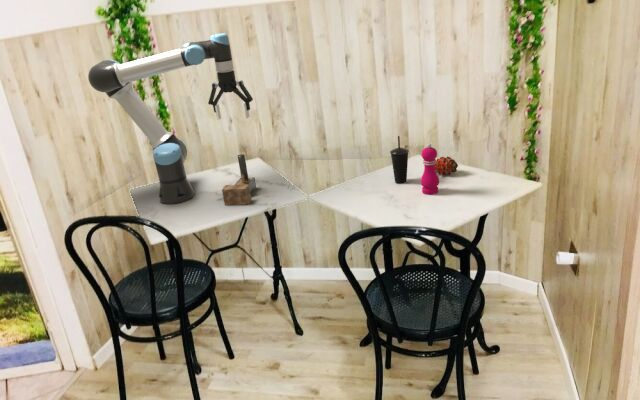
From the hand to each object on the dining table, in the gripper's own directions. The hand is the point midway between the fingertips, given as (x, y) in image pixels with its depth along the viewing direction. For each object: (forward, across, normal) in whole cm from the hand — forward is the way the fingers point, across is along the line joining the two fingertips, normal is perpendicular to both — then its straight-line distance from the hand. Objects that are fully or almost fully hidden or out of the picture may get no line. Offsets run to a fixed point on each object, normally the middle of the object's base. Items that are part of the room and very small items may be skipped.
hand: (233, 118), depth 236 cm
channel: (+29, -7, +18) cm, 35 cm away
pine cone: (+29, -92, +5) cm, 97 cm away
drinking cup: (+29, -74, +12) cm, 80 cm away
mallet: (+27, -7, +23) cm, 36 cm away
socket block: (+29, -7, +30) cm, 42 cm away
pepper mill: (+29, -86, +24) cm, 94 cm away
